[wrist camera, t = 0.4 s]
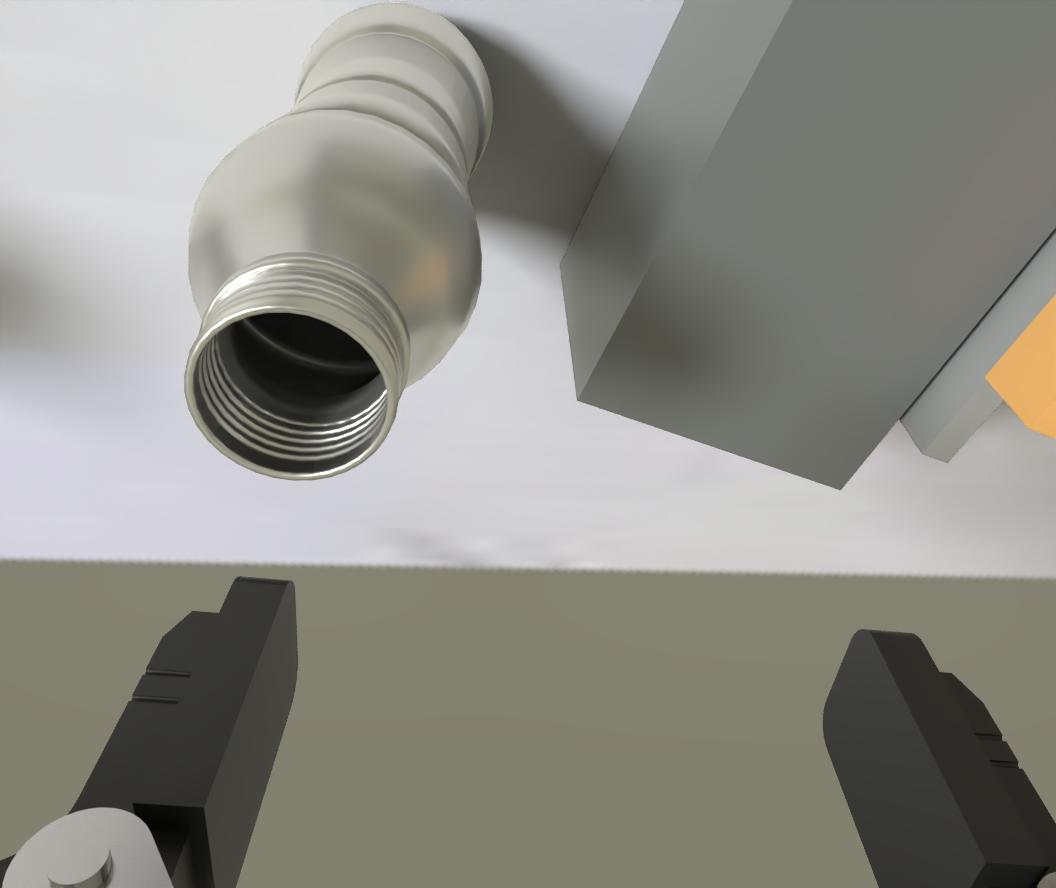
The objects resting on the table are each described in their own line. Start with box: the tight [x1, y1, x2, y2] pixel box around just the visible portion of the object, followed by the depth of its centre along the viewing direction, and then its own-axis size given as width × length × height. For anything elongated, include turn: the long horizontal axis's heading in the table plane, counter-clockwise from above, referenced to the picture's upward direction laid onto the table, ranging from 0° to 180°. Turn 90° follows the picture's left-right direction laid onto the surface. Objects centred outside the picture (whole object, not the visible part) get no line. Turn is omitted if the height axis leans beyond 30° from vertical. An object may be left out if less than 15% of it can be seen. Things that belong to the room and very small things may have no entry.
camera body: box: [560, 0, 1056, 490], centre depth 26 cm, size 22×10×10 cm, turn 157°
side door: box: [899, 228, 1056, 463], centre depth 26 cm, size 14×1×13 cm, turn 157°
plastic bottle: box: [184, 3, 493, 480], centre depth 22 cm, size 6×7×20 cm
